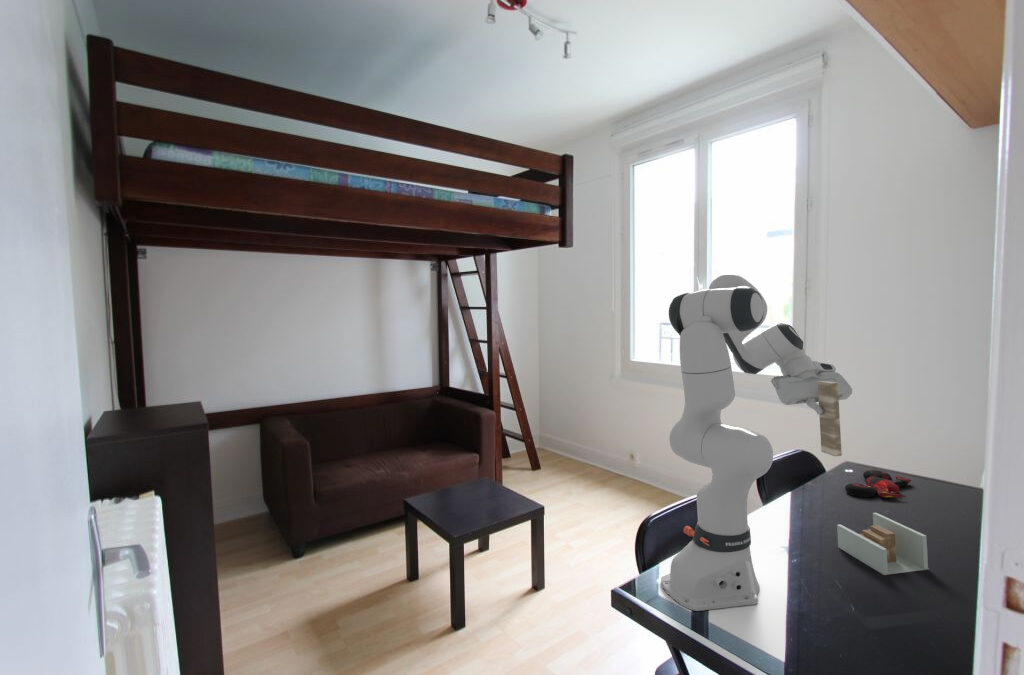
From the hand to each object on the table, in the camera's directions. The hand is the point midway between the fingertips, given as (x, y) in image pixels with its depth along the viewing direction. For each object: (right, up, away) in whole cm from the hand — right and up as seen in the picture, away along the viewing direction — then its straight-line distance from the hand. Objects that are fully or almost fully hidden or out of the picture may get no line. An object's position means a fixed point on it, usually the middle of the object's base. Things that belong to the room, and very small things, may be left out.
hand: (828, 412), depth 133 cm
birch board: (+1, -11, 0) cm, 11 cm away
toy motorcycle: (+39, -32, +31) cm, 60 cm away
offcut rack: (+5, -36, -13) cm, 38 cm away
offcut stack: (+3, -34, -13) cm, 37 cm away
